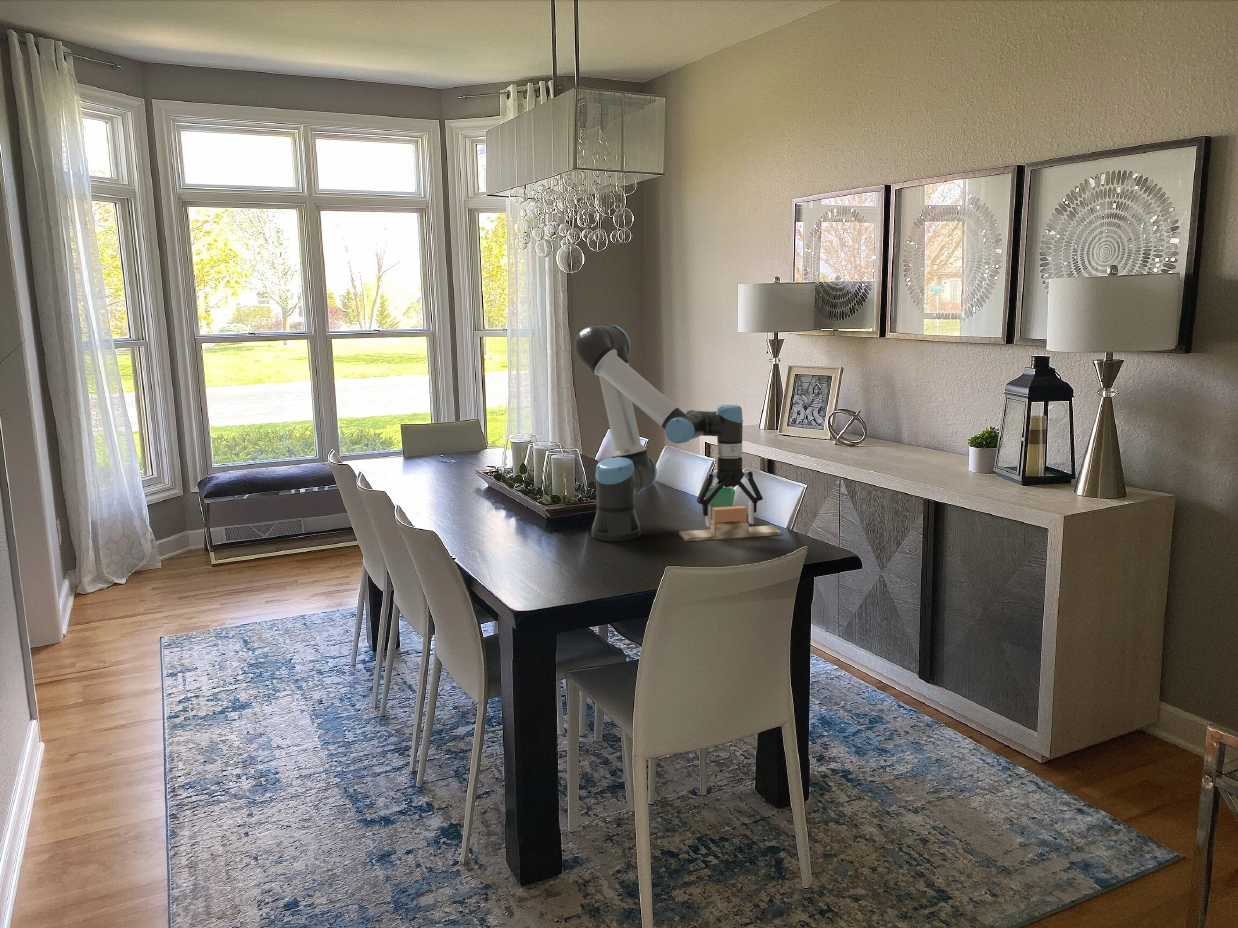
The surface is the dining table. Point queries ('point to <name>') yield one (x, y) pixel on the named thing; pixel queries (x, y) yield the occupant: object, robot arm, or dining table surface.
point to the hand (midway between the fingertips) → (729, 524)
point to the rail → (729, 531)
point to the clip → (728, 515)
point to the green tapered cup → (722, 498)
